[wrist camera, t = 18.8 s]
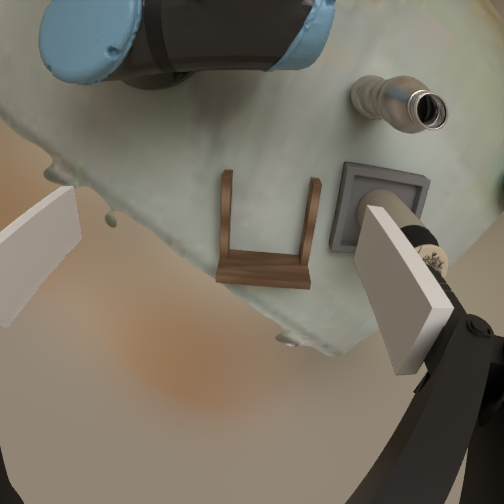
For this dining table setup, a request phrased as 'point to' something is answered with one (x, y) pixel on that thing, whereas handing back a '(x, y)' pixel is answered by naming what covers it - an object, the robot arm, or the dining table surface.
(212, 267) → the dining table surface
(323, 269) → the dining table surface
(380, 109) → the metal bottle
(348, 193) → the charcoal tray
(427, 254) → the travel mug
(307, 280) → the walnut dock
